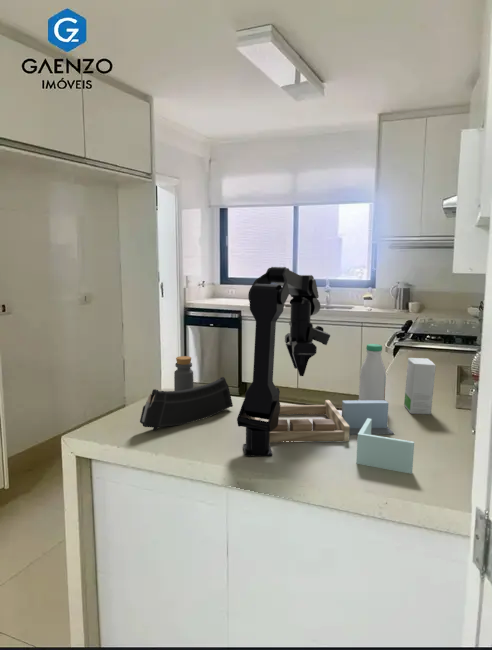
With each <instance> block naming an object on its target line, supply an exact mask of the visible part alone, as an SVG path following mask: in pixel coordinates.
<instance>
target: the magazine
mask: <svg viewBox="0 0 492 650" xmlns="http://www.w3.org/2000/svg"><path fill="white" fill-rule="evenodd" d="M233 406H234V405H233V400H232V396H231V392H230V388H229V384H228V382H227V379H226V377H224V376H221V377H220V378H219V379H216V380H214V381H212V382H210V383H207V384H203V385H200V386H197V387H193V388H192V389H187V390H180V391H174V390H171V391H170V390H165V391H164V390H158V389H157V388H155V389H154V388H153V389H152V392H151V393H149V395H148V398H147V400H146V403H145V404H144V405H143V407H142V412H141V414H140V419H139V423H141V424H142V426H143V428H153V429H152V430H153V431H154V432H157V429H158V428H167V427H174V426H180V425H181V426H182V425H186V424H189V423H193V421H194V422H197V421H200V420H204V419H207V418H209V417H211V415H212V416H214V415H216V414H218V413H220V412H222V411H225V410H227V409H229V408H233ZM206 417H207V418H206ZM203 418H204V419H203ZM199 419H200V420H199ZM196 420H197V421H196Z"/></svg>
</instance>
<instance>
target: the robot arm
mask: <svg viewBox="0 0 492 650" xmlns="http://www.w3.org/2000/svg"><path fill="white" fill-rule="evenodd" d="M289 295H290V298H291V299H290V301H289V304H290V316H289V317H290V319H289V321H288V325H289V328H290V329H289V332H288V333H287V334H285V336H284V342H285V346H286V349H287V352H288V354H289V357H290V359H291V362H292V364H293V365H292V366H293V368H294V369H297V371H298V375H299V377H304V376H305V372H306V370H307V366H308V362H309V360H310V359H311V358H312V357H314V356H315V355H316V354H317V346H316V344H314V341H316V342H318V343H322V345H324V346H327V345H328V342H329V340H330V337H331V334H330V333H328V332H326V331H324V327H322V326H320V325H317V326H315V327H314V324H313V323H311V317H312V316H314V315H316V314H317V313H319V312H320V310H321V306H322V305H321V303H320V300H319V299H318V298H319V291H318V286H317V281H316V279H315V277H314V276H313V275H312V274H298V273H296V272H295V271H292V270H290V269H289V267H288V268H287V267H286V266H271V267H268V268H267V270H266V272H265V273H264V274H262V275H261V276H259V277H258V278H256V279H255V280H254V282H253V284H252V286H251V287H250V288H249V290H248V296H247V297H248V301H249V311H250V313H251V315H252V317H253V318H254V320H255V330H254V331H255V332H254V352H253V372H252V382H251V384H250V385H249V387H248V388H247V389H246V391H245V394H244V399H243V401H242V404H241V408H240V409H239V413H238V415H237V418H236V422H237V427H243V428H245V443H243V445H242V446H243V447H242V448H243V452H244V456H245V457H272V456H273V450H272V447H271V444H270V443H271V442H270V432H271V431H272V430H274V429H275V428H276V427H277V426H278V420H279V418H280V415H279V413H280V405H281V402H280V395H281V394H280V388H279V387H276V386H275V385H276V384H275V383H274V367H275V366H274V364H275V363H274V362H275V349H276V348H275V346H276V344H275V343H276V326H277V321H278V319H279V318H280V317H281V315H282V314H283V312H284V307H285V304H286V302H287V299H288V297H289ZM249 417H250V418H249ZM252 417H255V418H260V420H255V419H252ZM265 420H267V421H265ZM268 420H269V421H268Z"/></svg>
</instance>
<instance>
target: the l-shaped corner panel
mask: <svg viewBox="0 0 492 650" xmlns="http://www.w3.org/2000/svg"><path fill="white" fill-rule="evenodd" d="M371 425H372V419H369V418H367V420H366V421H365V423H364V425H363V426H362V428H361V430H360V431H359V433H358V435H357V441H356V443H357V444H356V461H355V462H356V463H355V464H357V465H363V466H368V467H373V468H379V469H384V470H390V471H395V472H399V473H406V474H412V475H413V469H414V468H413V467H414V453H415V441H411V440H406V439H399V438H394V437H386V436H382V435H371Z"/></svg>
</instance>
